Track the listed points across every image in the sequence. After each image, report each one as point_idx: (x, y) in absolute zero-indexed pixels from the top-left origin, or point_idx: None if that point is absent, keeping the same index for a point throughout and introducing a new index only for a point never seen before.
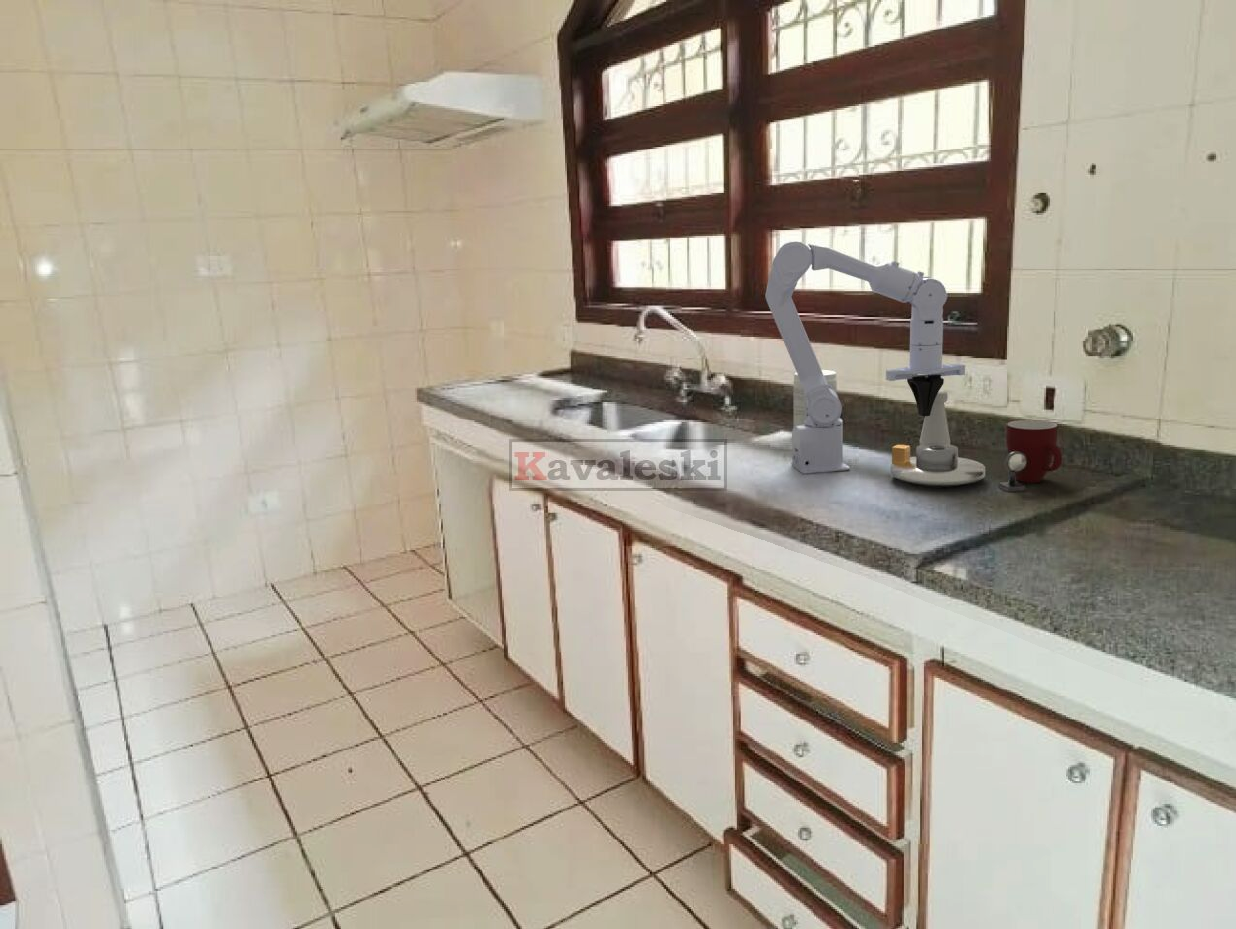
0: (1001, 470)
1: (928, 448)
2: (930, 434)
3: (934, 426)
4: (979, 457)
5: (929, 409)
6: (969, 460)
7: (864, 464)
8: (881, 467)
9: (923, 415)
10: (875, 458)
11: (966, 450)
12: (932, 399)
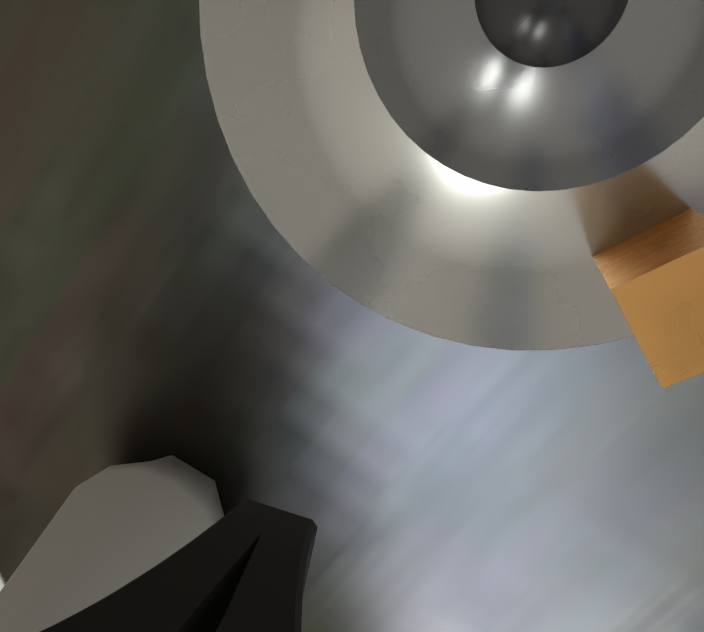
0: (59, 23)
1: (634, 17)
2: (164, 559)
3: (113, 585)
4: (23, 319)
5: (231, 537)
6: (225, 48)
7: (639, 563)
8: (604, 460)
9: (311, 528)
10: (494, 614)
11: (11, 457)
12: (145, 604)
